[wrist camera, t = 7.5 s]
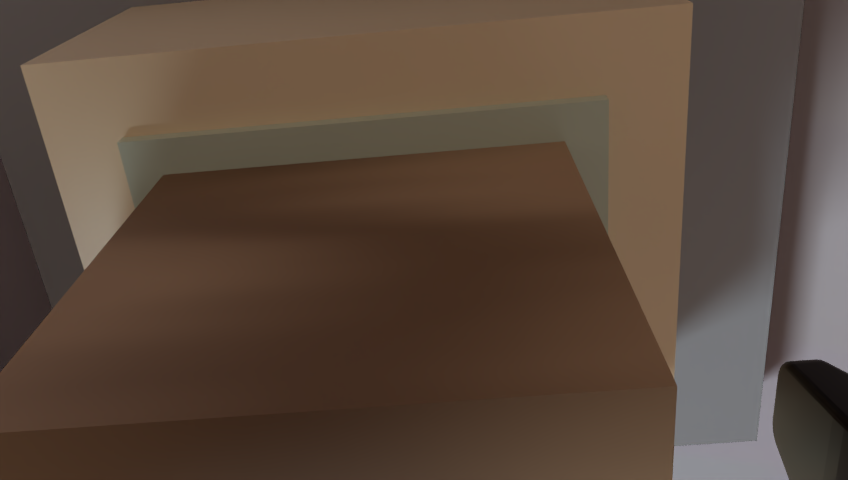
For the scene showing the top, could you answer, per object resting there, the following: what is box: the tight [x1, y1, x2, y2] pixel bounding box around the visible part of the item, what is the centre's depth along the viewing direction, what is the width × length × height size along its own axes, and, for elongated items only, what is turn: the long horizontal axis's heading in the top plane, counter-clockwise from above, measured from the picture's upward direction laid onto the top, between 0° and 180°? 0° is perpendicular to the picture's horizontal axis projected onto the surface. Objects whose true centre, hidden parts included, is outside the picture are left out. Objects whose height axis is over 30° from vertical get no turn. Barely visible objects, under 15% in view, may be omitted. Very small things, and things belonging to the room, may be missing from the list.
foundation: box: [0, 0, 805, 446], centre depth 14 cm, size 14×12×6 cm
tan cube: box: [0, 141, 677, 480], centre depth 9 cm, size 5×5×5 cm
